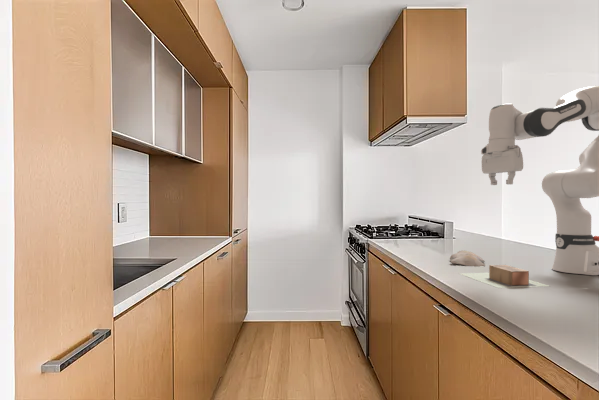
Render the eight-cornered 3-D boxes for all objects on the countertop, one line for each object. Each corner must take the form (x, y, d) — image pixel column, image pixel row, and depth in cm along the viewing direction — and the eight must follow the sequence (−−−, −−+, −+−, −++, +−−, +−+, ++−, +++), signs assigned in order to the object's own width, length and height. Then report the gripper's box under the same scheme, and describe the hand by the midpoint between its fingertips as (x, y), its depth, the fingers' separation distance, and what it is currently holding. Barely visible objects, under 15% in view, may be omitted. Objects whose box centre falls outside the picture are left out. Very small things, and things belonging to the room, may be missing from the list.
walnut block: (505, 264, 144) (529, 271, 132) (505, 277, 145) (529, 285, 132) (489, 265, 144) (511, 271, 132) (489, 278, 144) (511, 285, 132)
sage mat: (503, 273, 155) (503, 272, 155) (550, 287, 131) (550, 285, 131) (458, 274, 153) (458, 273, 153) (498, 289, 129) (498, 287, 129)
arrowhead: (450, 255, 174) (450, 245, 202) (449, 266, 174) (449, 255, 202) (486, 257, 169) (481, 247, 197) (486, 270, 169) (481, 257, 197)
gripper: (528, 144, 144) (528, 184, 145) (493, 150, 165) (493, 185, 165) (511, 144, 144) (511, 183, 144) (478, 150, 164) (478, 185, 164)
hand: (501, 184), depth 154 cm, fingers open, 8 cm apart
